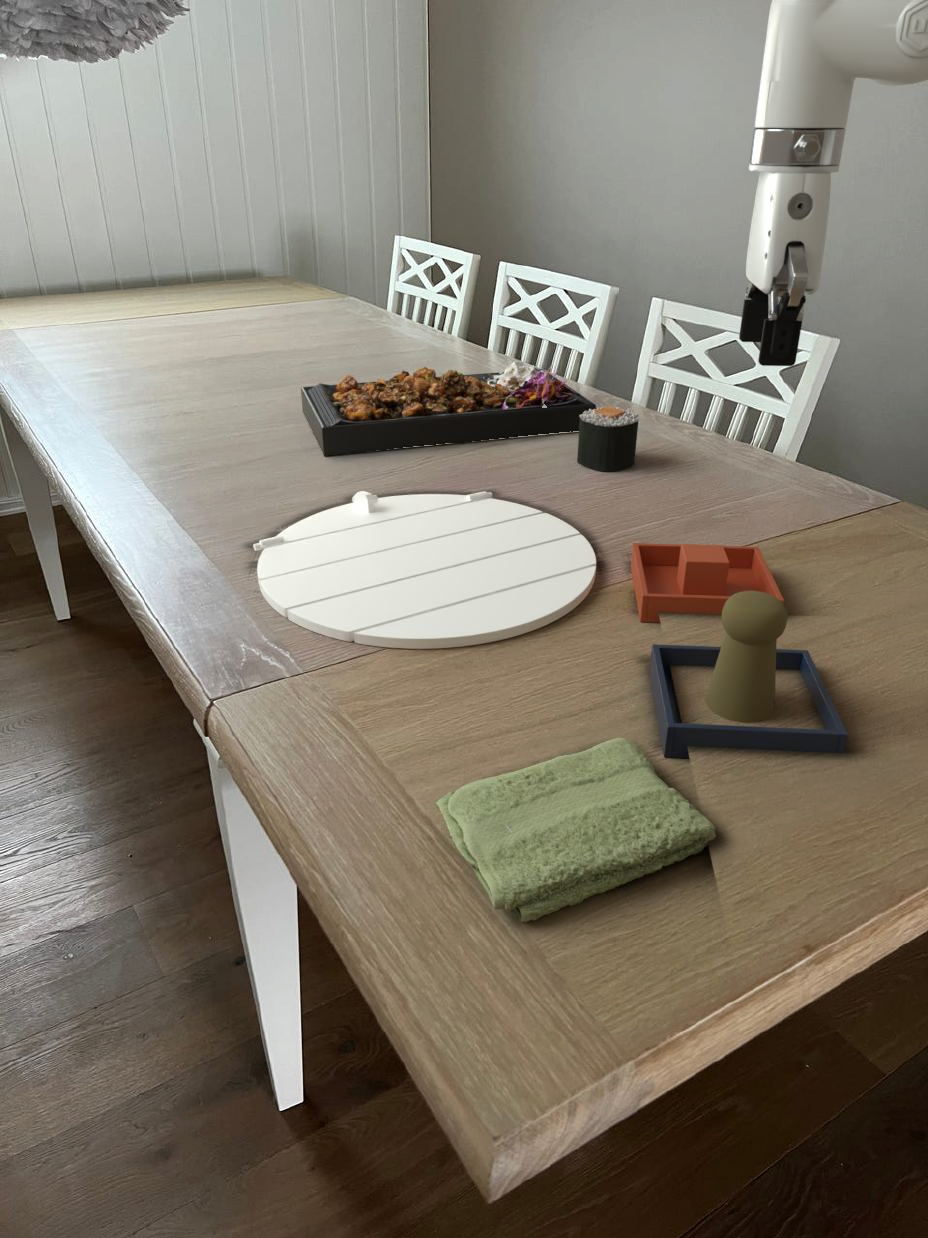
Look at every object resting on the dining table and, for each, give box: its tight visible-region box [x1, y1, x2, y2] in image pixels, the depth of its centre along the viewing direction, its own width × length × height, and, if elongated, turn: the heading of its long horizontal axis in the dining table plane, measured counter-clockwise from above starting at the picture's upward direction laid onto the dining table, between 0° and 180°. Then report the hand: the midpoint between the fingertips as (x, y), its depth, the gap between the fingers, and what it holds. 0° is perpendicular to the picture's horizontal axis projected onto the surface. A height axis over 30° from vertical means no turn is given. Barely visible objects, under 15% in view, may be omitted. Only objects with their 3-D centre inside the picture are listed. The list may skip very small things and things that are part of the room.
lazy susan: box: [252, 490, 597, 650], centre depth 108 cm, size 40×39×3 cm
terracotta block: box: [677, 543, 730, 596], centre depth 100 cm, size 4×4×4 cm
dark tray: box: [648, 643, 849, 759], centre depth 81 cm, size 14×13×3 cm
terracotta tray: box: [630, 542, 785, 624], centre depth 101 cm, size 14×13×3 cm
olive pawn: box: [704, 591, 788, 724], centre depth 78 cm, size 6×6×11 cm
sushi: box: [576, 405, 640, 472], centre depth 137 cm, size 8×8×8 cm
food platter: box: [300, 360, 597, 457], centre depth 155 cm, size 45×25×10 cm, turn 106°
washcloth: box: [435, 737, 717, 923], centre depth 67 cm, size 13×18×3 cm
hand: (765, 352), depth 88 cm, fingers open, 9 cm apart
